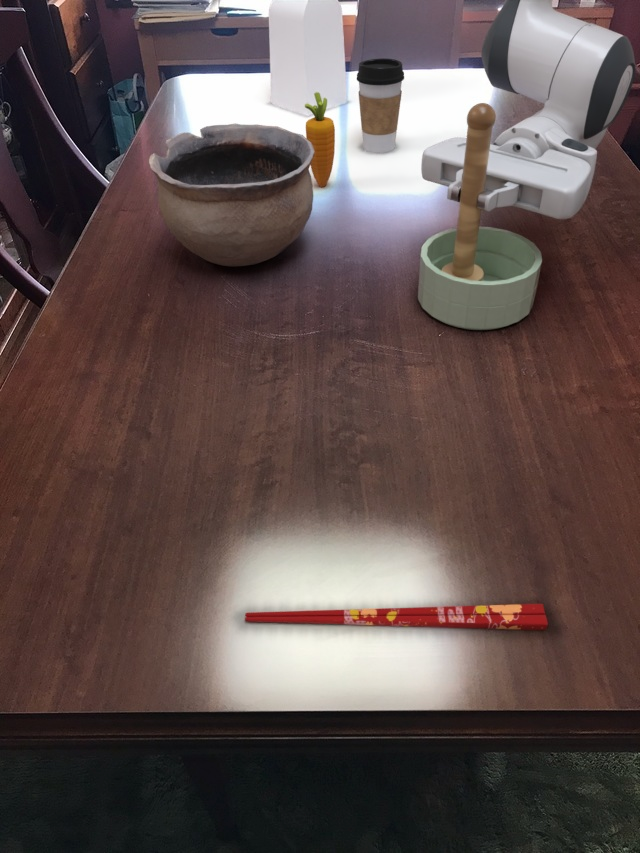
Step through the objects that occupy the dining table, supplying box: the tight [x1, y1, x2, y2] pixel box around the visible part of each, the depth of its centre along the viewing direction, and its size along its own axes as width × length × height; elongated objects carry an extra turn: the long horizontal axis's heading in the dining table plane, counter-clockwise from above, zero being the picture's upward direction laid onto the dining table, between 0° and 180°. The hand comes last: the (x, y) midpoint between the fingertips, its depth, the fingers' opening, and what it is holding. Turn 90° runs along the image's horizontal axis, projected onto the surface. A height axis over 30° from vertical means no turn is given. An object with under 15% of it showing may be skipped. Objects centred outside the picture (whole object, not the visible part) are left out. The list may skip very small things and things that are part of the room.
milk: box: [268, 0, 348, 117], centre depth 141 cm, size 12×12×26 cm
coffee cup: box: [356, 57, 405, 154], centre depth 124 cm, size 8×8×15 cm
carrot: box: [305, 92, 336, 188], centre depth 112 cm, size 5×5×15 cm
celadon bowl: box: [417, 226, 543, 331], centre depth 87 cm, size 15×15×7 cm
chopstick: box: [244, 603, 549, 631], centre depth 55 cm, size 2×24×1 cm, turn 89°
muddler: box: [441, 102, 497, 281], centre depth 79 cm, size 5×5×21 cm
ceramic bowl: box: [148, 123, 315, 267], centre depth 97 cm, size 22×22×15 cm
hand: (467, 199), depth 78 cm, fingers closed on muddler, 2 cm apart
